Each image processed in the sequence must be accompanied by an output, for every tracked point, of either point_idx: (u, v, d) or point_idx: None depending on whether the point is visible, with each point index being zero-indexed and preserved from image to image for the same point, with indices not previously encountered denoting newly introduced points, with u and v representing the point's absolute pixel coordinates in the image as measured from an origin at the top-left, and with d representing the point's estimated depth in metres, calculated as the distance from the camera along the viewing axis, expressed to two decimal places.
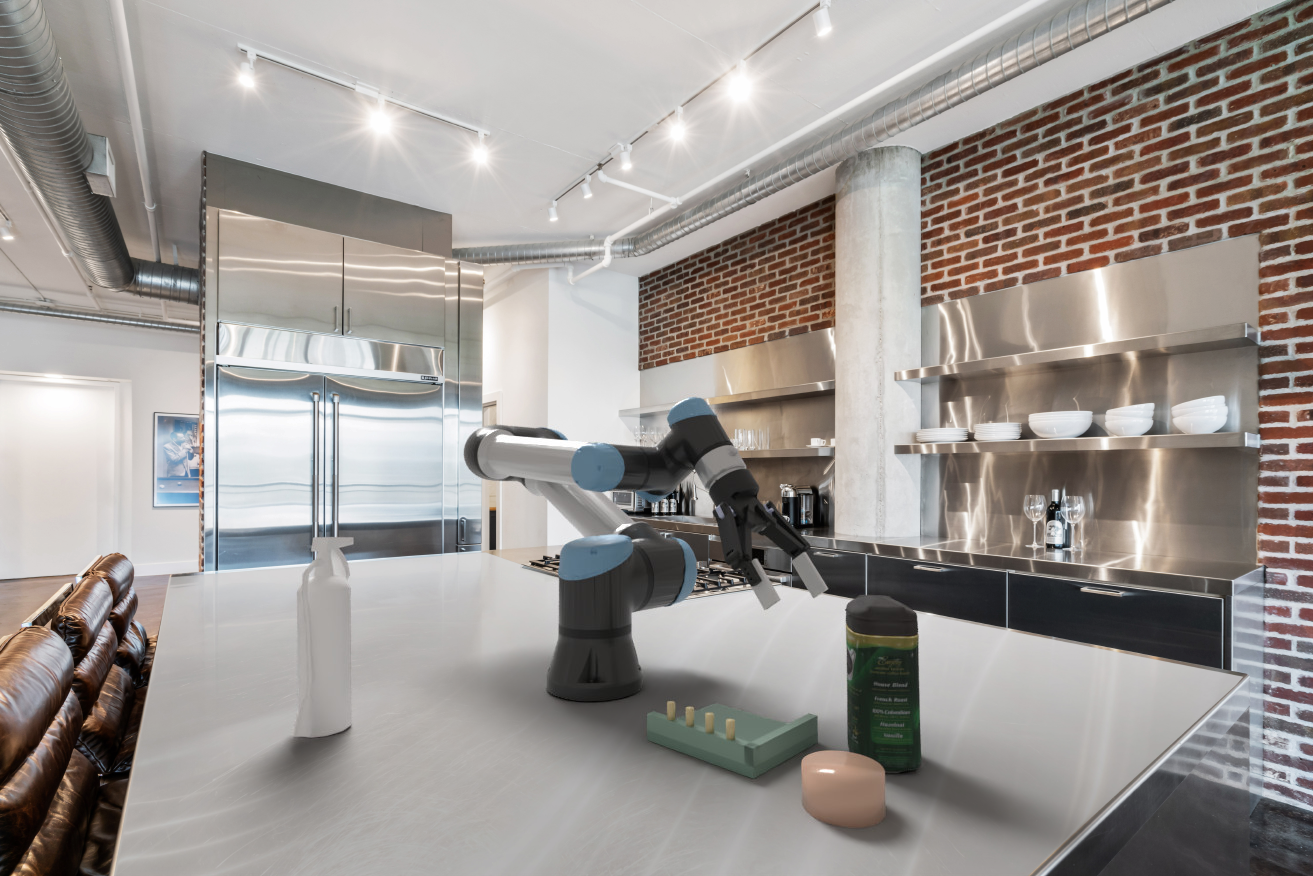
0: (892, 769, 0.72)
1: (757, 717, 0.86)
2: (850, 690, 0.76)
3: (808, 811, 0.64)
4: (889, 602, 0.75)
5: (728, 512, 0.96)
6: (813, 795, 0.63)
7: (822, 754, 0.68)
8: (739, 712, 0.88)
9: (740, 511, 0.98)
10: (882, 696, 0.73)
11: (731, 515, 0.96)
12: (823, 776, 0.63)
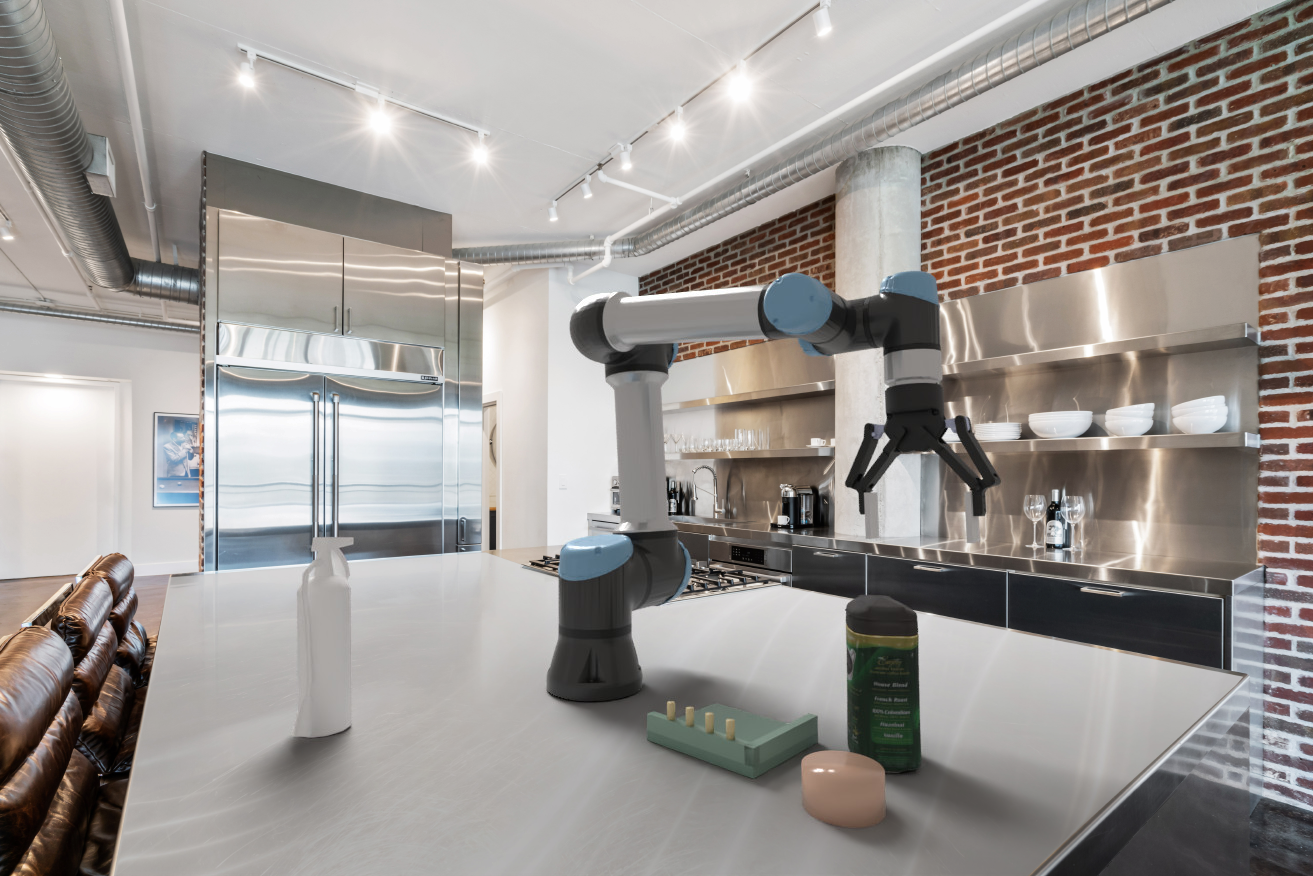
0: (892, 769, 0.72)
1: (757, 717, 0.86)
2: (850, 690, 0.76)
3: (808, 811, 0.64)
4: (889, 602, 0.75)
5: (970, 431, 0.86)
6: (813, 795, 0.63)
7: (822, 754, 0.68)
8: (739, 712, 0.88)
9: (943, 431, 0.88)
10: (882, 696, 0.73)
11: None
12: (823, 776, 0.63)
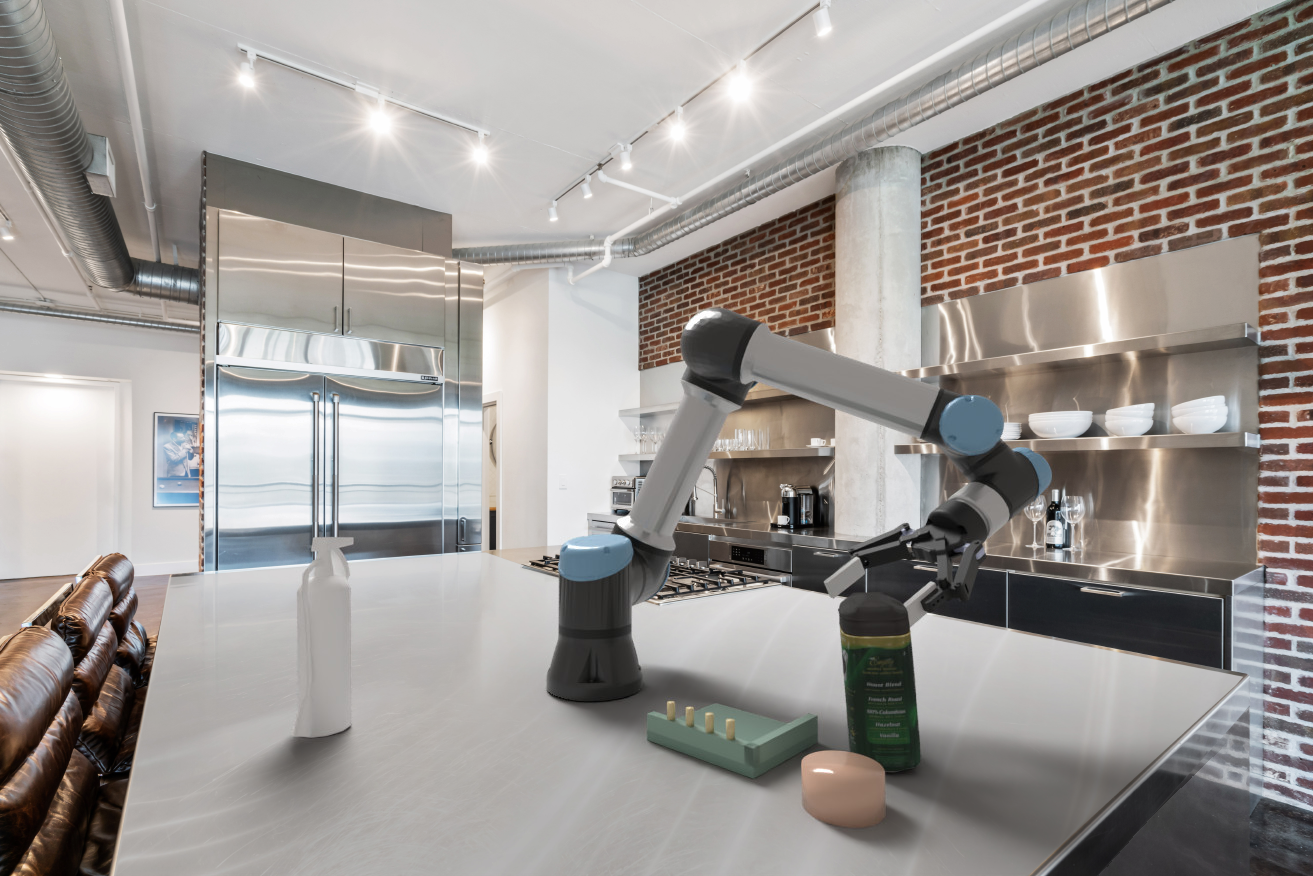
0: (890, 769, 0.72)
1: (757, 717, 0.86)
2: (846, 690, 0.76)
3: (808, 811, 0.64)
4: (878, 601, 0.74)
5: (978, 564, 0.86)
6: (813, 795, 0.63)
7: (822, 754, 0.68)
8: (739, 712, 0.88)
9: (957, 556, 0.89)
10: (875, 697, 0.73)
11: None
12: (823, 776, 0.63)
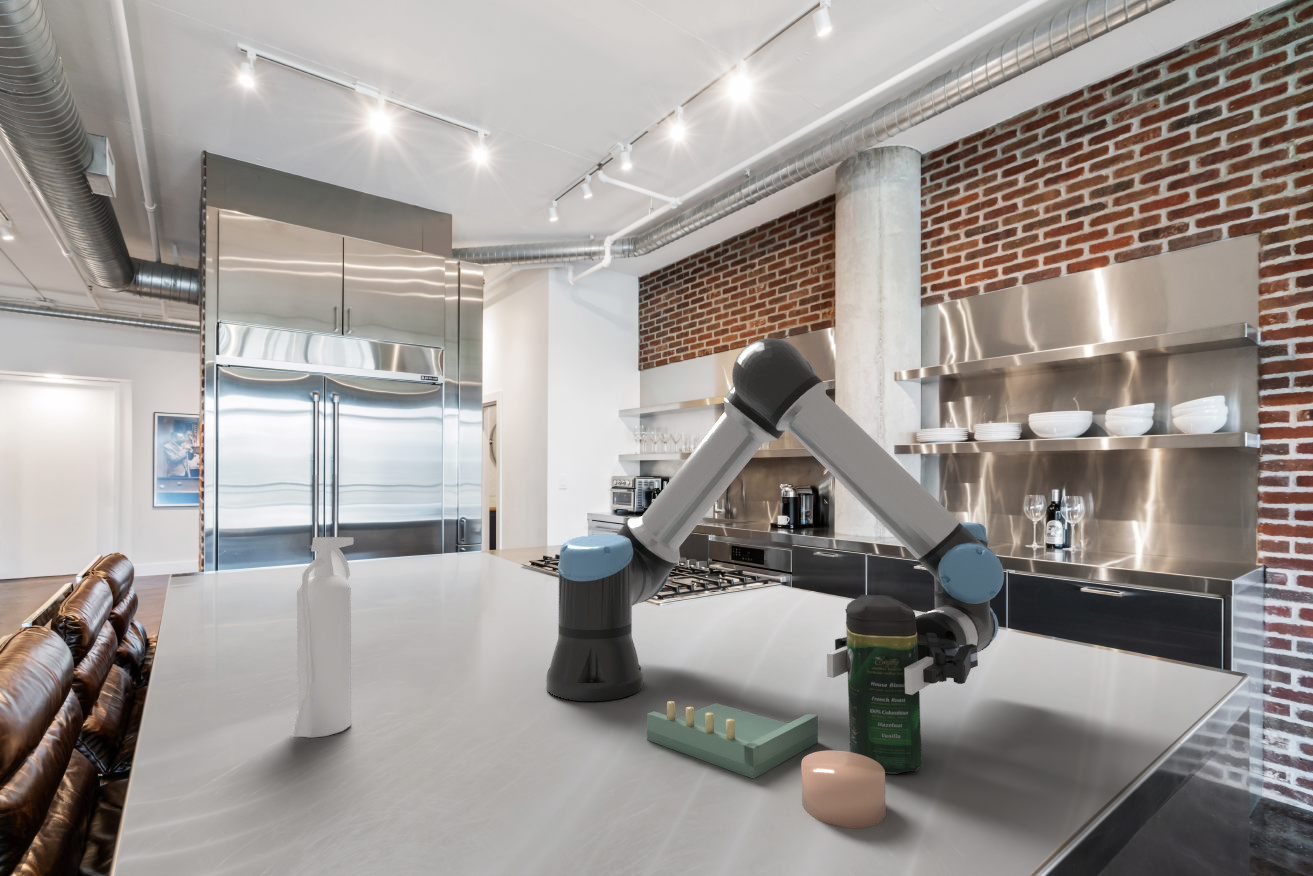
0: (890, 770, 0.72)
1: (757, 717, 0.86)
2: (849, 690, 0.76)
3: (808, 811, 0.64)
4: (886, 602, 0.75)
5: (970, 667, 0.81)
6: (813, 795, 0.63)
7: (822, 754, 0.68)
8: (739, 712, 0.88)
9: (945, 660, 0.84)
10: (879, 696, 0.73)
11: None
12: (823, 776, 0.63)
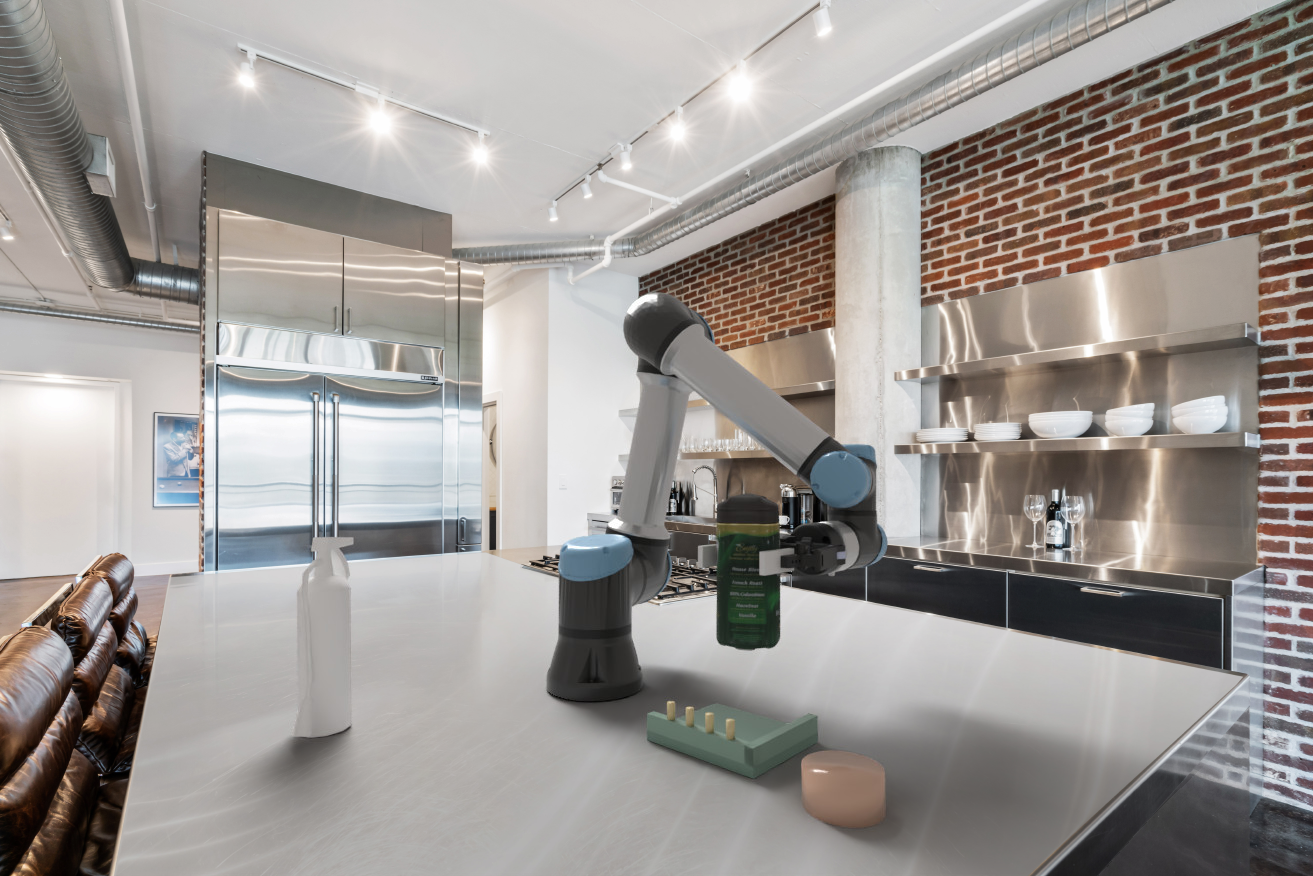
0: (746, 647, 0.77)
1: (757, 717, 0.86)
2: None
3: (808, 811, 0.64)
4: (750, 495, 0.80)
5: (836, 564, 0.86)
6: (813, 795, 0.63)
7: (822, 754, 0.68)
8: (739, 712, 0.88)
9: None
10: (738, 580, 0.78)
11: None
12: (823, 776, 0.63)
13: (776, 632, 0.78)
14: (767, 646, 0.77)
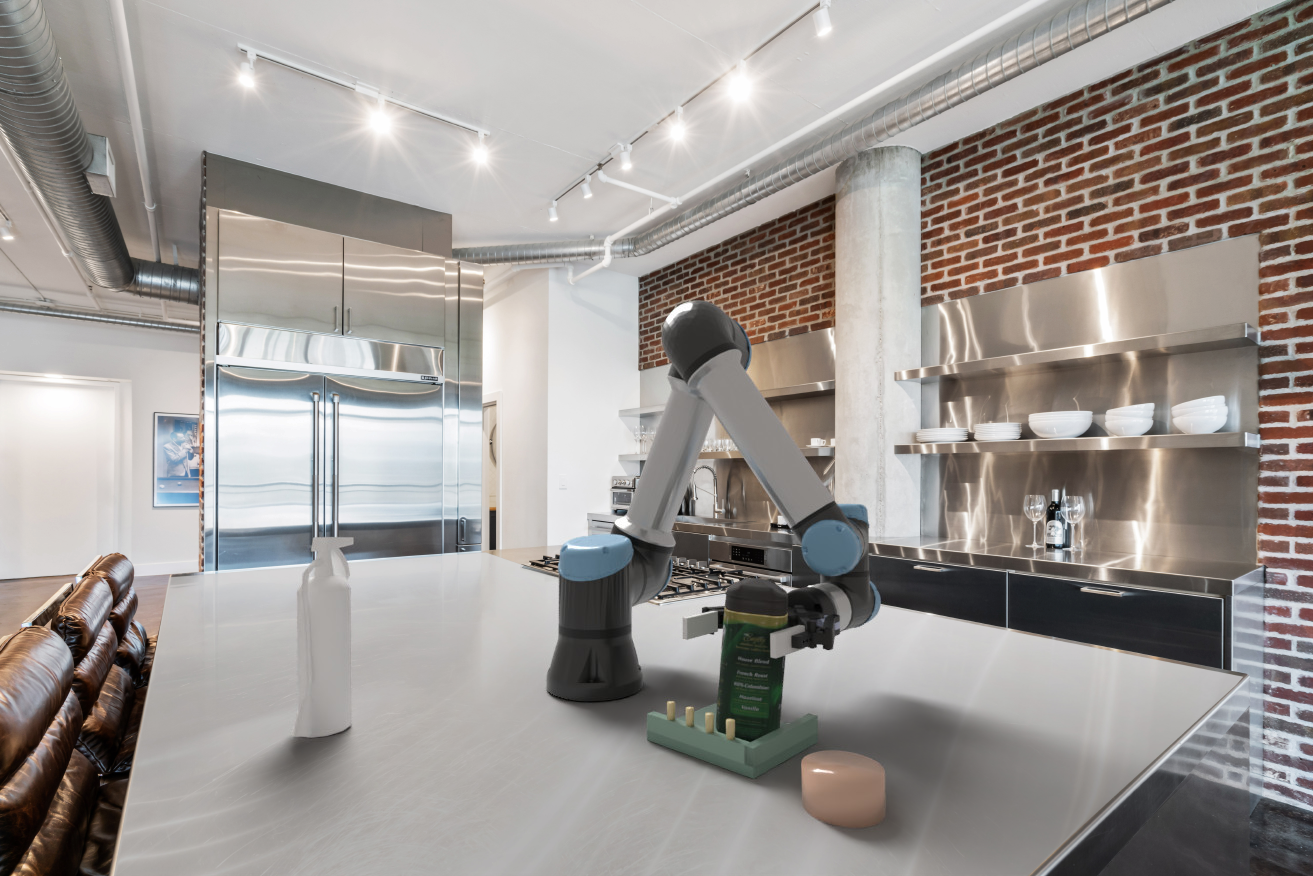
0: (746, 740, 0.76)
1: None
2: (720, 664, 0.80)
3: (808, 811, 0.64)
4: (761, 583, 0.79)
5: (834, 635, 0.86)
6: (813, 795, 0.63)
7: (822, 754, 0.68)
8: None
9: None
10: (744, 670, 0.77)
11: None
12: (823, 776, 0.63)
13: (777, 726, 0.77)
14: None
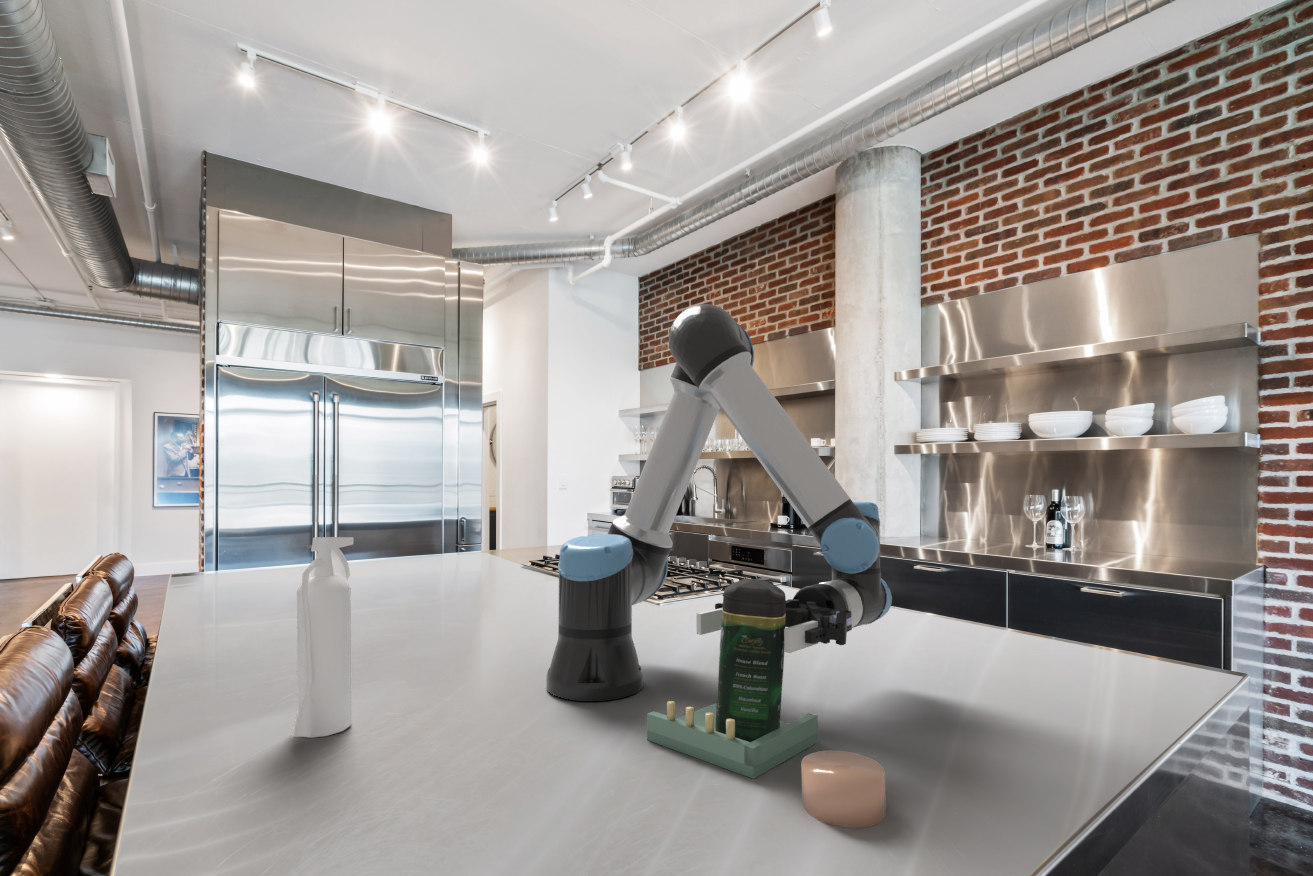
0: None
1: None
2: None
3: (808, 811, 0.64)
4: (758, 584, 0.79)
5: (846, 631, 0.87)
6: (813, 795, 0.63)
7: (822, 754, 0.68)
8: None
9: None
10: (742, 672, 0.77)
11: None
12: (823, 776, 0.63)
13: (777, 727, 0.77)
14: None
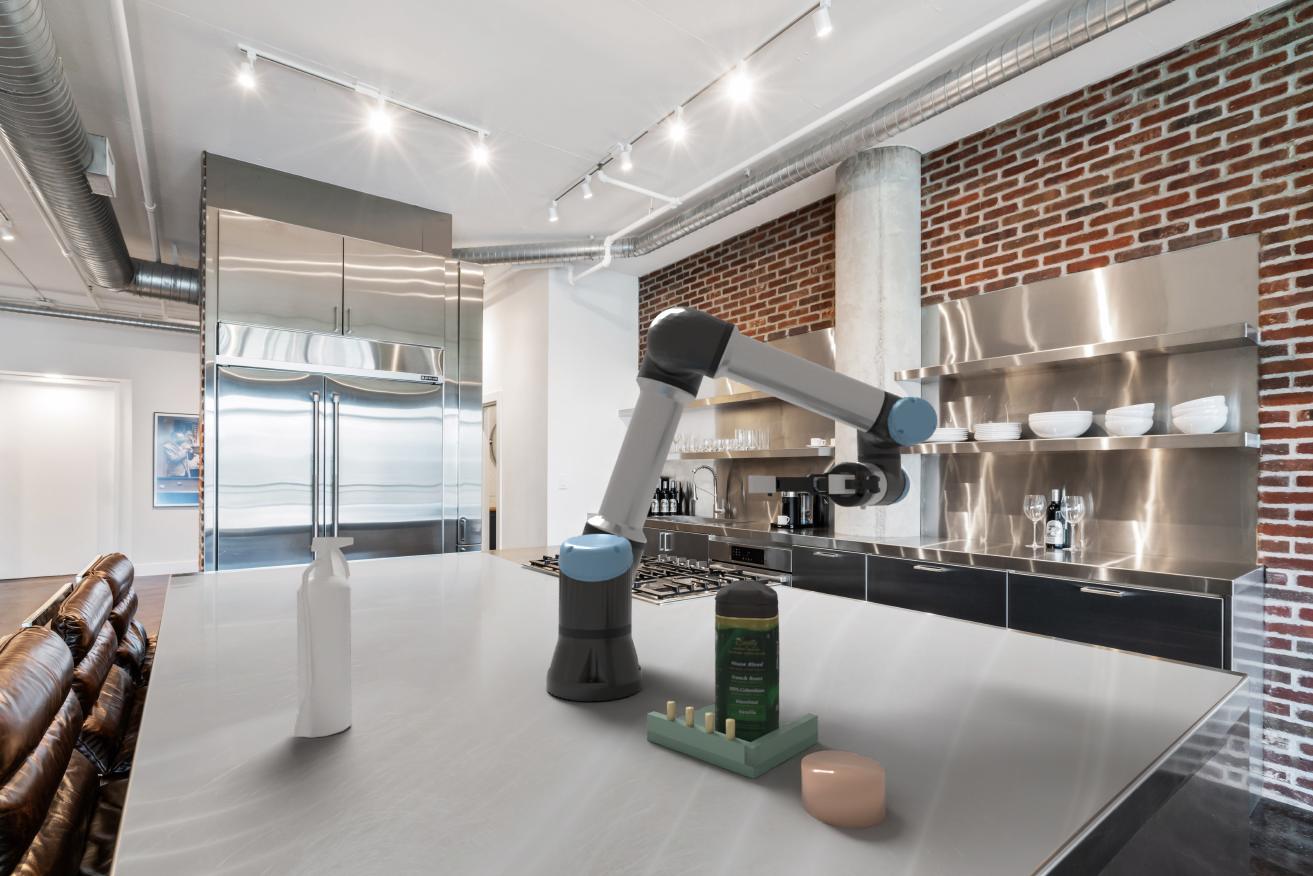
0: None
1: None
2: None
3: (808, 811, 0.64)
4: (750, 586, 0.79)
5: None
6: (813, 795, 0.63)
7: (822, 754, 0.68)
8: None
9: None
10: (738, 675, 0.77)
11: None
12: (823, 776, 0.63)
13: (776, 728, 0.77)
14: None
